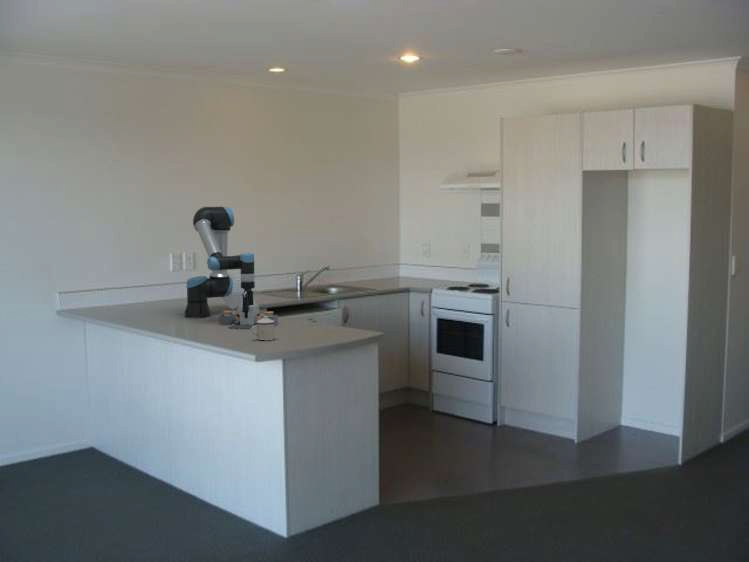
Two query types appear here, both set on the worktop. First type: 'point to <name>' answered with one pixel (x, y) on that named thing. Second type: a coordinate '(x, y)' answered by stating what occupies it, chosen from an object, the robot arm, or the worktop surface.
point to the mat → (242, 326)
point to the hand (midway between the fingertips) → (248, 322)
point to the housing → (232, 320)
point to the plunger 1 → (227, 313)
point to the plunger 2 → (269, 314)
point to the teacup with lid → (265, 329)
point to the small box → (251, 315)
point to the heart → (234, 292)
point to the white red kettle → (242, 304)
